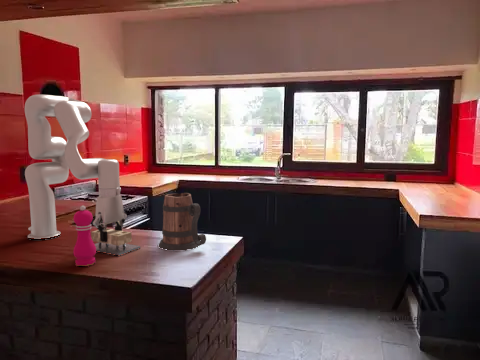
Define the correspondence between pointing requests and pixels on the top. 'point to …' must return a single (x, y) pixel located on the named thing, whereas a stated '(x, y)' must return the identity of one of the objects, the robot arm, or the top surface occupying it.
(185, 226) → the tankard
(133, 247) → the chassis
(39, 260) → the top surface
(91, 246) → the pepper mill
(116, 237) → the tan rectangular block
